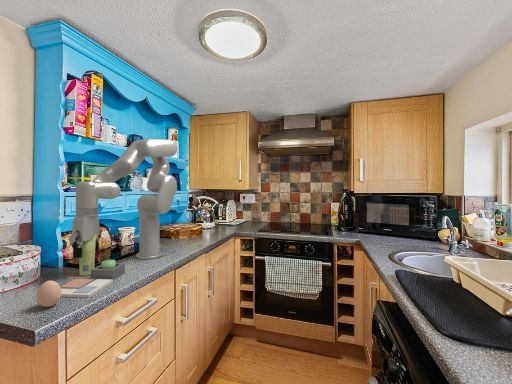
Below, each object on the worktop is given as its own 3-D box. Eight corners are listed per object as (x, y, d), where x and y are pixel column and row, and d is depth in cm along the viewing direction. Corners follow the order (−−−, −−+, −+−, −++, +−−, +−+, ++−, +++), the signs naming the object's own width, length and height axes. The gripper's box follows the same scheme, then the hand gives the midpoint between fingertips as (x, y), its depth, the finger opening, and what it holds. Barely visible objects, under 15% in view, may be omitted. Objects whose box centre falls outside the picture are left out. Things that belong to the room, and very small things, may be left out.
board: (75, 281, 94) (75, 277, 94) (113, 282, 93) (113, 279, 93) (45, 296, 81) (45, 292, 81) (88, 297, 80) (88, 294, 80)
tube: (84, 271, 104) (84, 224, 103) (97, 271, 105) (97, 224, 104) (76, 276, 98) (76, 227, 98) (90, 276, 99) (89, 227, 98)
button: (106, 269, 101) (106, 259, 101) (118, 269, 101) (118, 259, 101) (98, 273, 97) (98, 263, 97) (110, 273, 97) (110, 263, 96)
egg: (32, 308, 73) (32, 282, 73) (54, 300, 79) (54, 276, 78) (43, 312, 71) (43, 286, 71) (65, 303, 76) (65, 279, 76)
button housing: (104, 272, 103) (104, 262, 103) (124, 272, 103) (124, 263, 103) (90, 280, 95) (90, 269, 95) (112, 280, 95) (112, 270, 95)
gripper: (92, 210, 109) (92, 248, 110) (60, 214, 92) (60, 260, 92) (109, 210, 109) (108, 249, 109) (80, 214, 92) (79, 260, 92)
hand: (86, 254), depth 101 cm, fingers open, 9 cm apart
